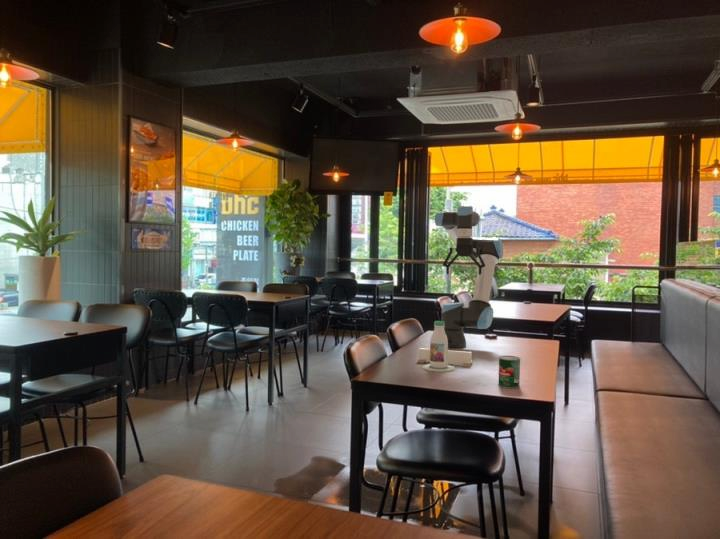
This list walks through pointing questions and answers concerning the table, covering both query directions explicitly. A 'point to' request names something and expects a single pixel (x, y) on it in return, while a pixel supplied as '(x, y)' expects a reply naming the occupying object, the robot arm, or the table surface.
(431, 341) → the milk bottle
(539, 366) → the table surface
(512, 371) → the canned tomato
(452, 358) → the low wall
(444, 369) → the coaster pad
